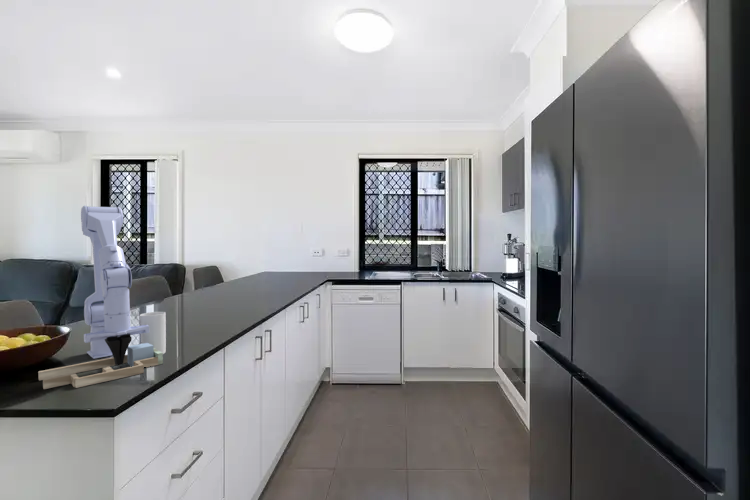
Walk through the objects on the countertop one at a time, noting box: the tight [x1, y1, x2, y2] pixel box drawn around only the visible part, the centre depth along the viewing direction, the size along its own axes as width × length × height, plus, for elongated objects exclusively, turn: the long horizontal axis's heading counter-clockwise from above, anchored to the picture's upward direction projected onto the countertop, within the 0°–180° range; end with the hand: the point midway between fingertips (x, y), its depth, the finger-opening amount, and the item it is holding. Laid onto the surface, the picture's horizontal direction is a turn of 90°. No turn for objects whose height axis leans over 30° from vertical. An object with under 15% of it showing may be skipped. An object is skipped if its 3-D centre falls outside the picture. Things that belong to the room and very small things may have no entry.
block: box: [126, 343, 154, 367], centre depth 110 cm, size 5×5×5 cm
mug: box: [139, 311, 167, 355], centre depth 121 cm, size 10×7×12 cm, turn 20°
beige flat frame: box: [37, 348, 164, 390], centre depth 102 cm, size 14×25×3 cm, turn 135°
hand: (119, 364), depth 106 cm, fingers closed
